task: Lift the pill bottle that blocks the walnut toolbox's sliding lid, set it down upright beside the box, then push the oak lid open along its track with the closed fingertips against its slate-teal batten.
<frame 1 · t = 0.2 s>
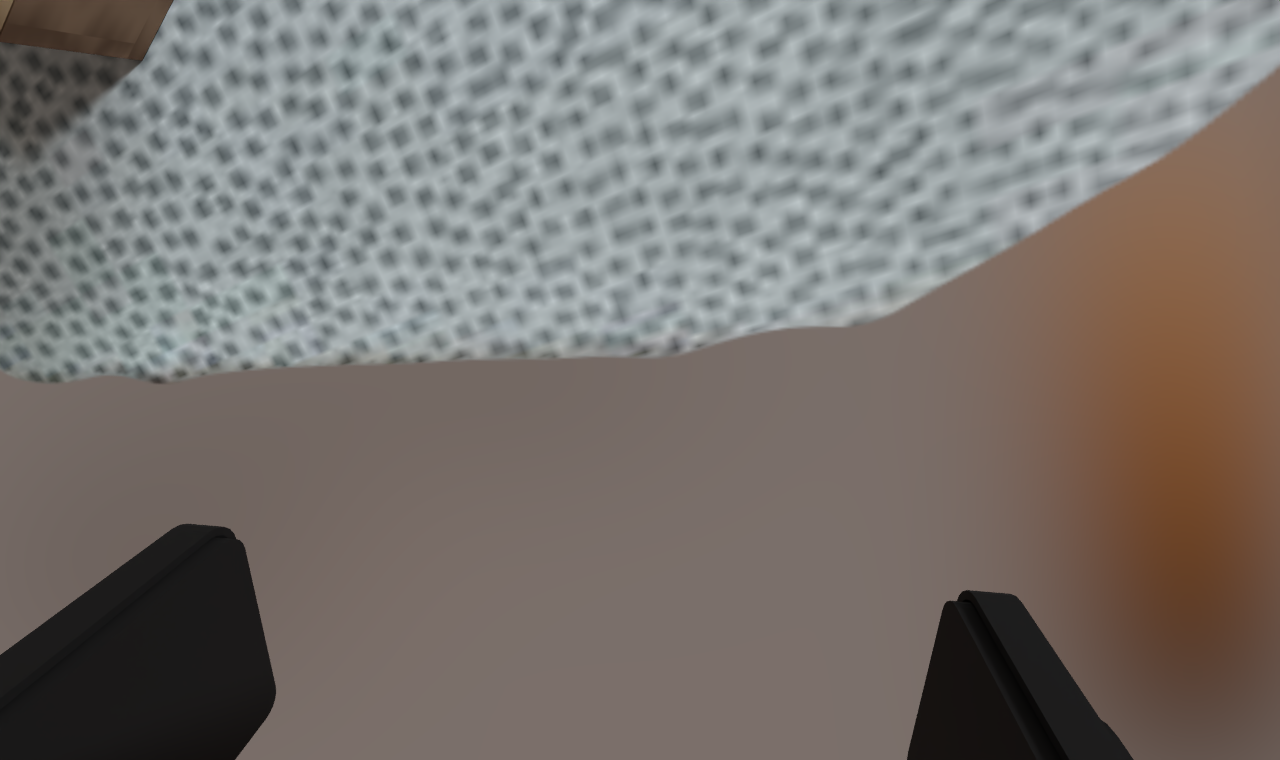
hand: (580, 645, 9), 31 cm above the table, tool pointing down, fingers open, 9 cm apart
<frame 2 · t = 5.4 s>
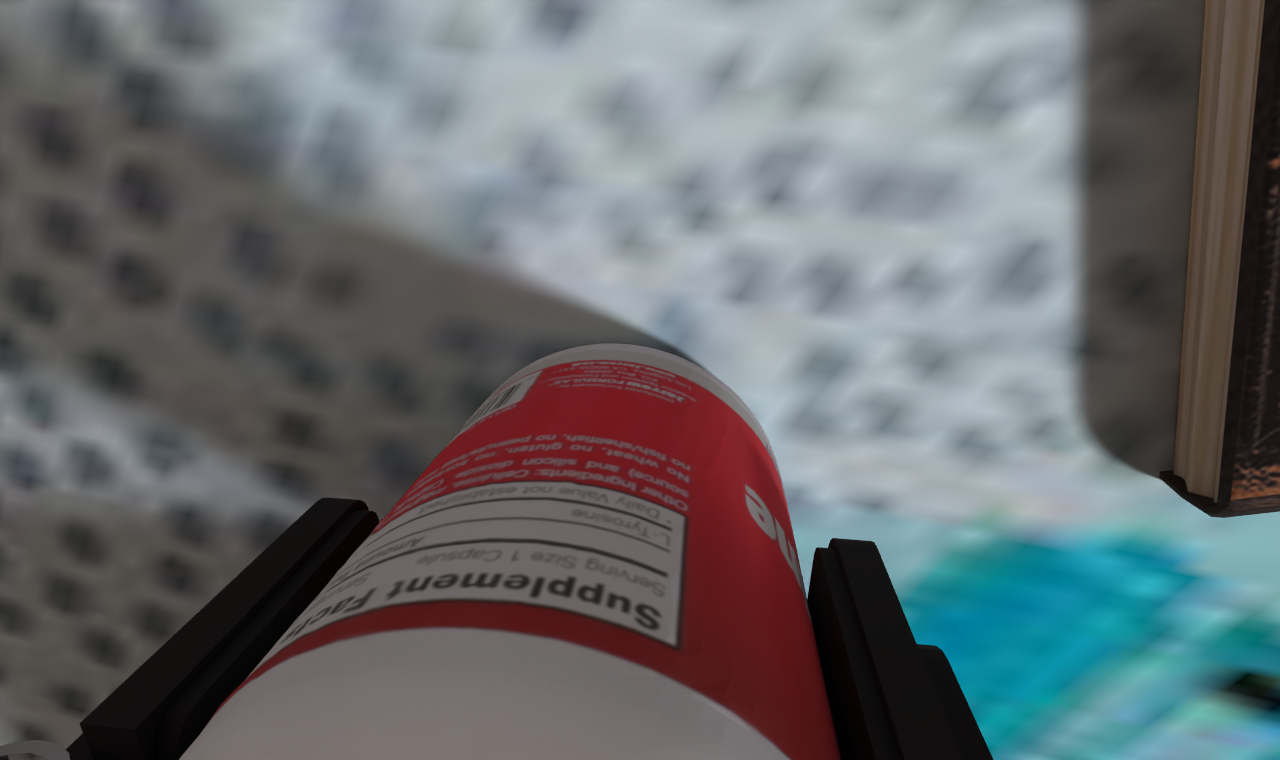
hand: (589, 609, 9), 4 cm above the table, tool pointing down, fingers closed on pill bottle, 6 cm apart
pill bottle: (622, 478, 13), on the table, touching gripper
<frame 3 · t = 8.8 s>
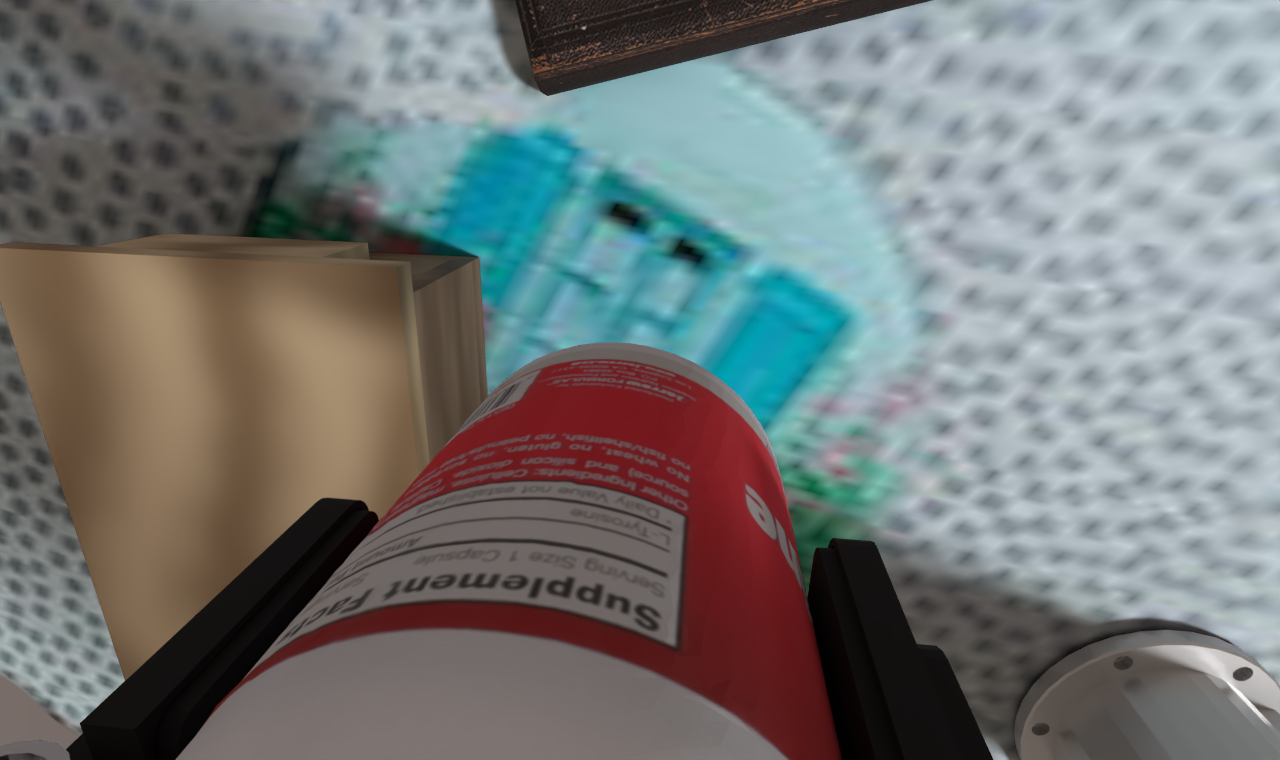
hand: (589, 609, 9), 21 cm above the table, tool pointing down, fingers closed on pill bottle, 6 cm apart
pill bottle: (621, 478, 13), point 17 cm above the table, touching gripper
toolbox lid: (264, 550, 26), point 8 cm above the table, slide at 0.0 cm
toolbox: (368, 464, 33), on the table
when the fingers open (5 cm above the table, at t = 12.1 s): pill bottle drops 1 cm, on the table.
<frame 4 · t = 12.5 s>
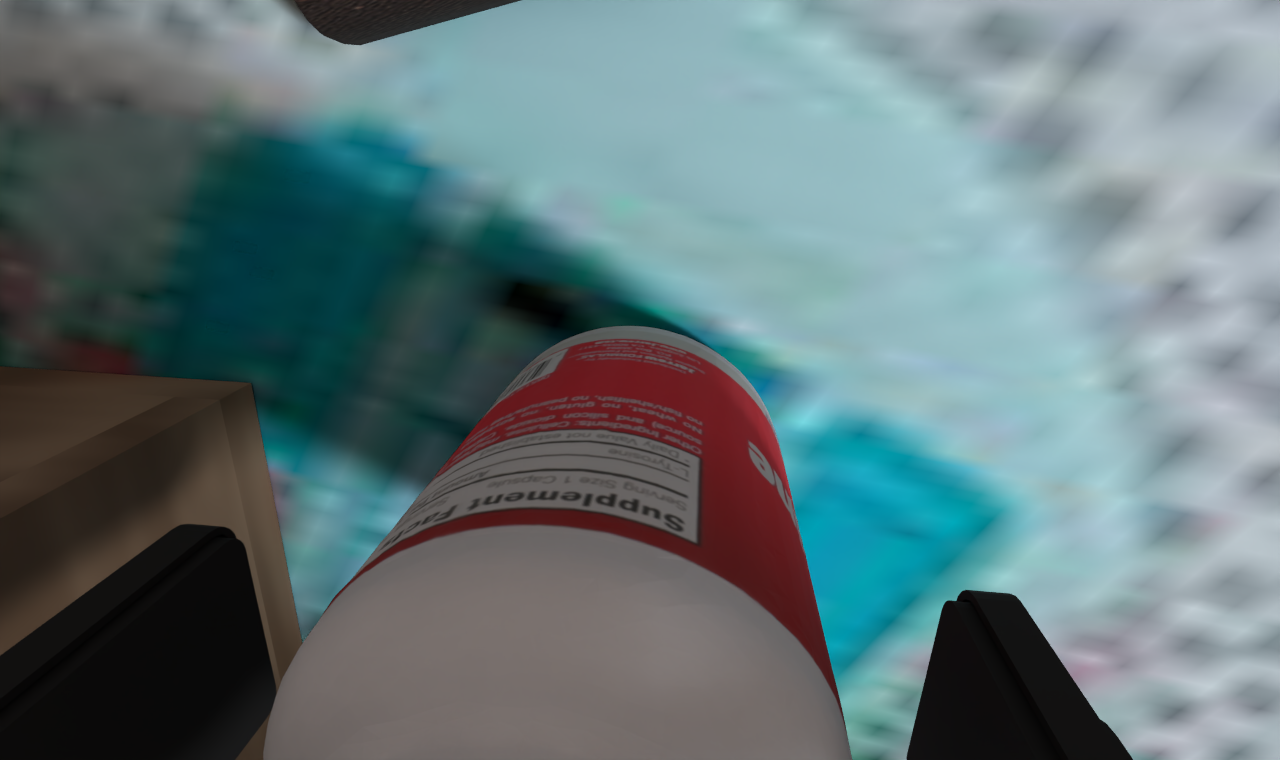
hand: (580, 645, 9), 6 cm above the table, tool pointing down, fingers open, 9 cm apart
pill bottle: (636, 449, 14), on the table
toolbox: (108, 721, 19), on the table
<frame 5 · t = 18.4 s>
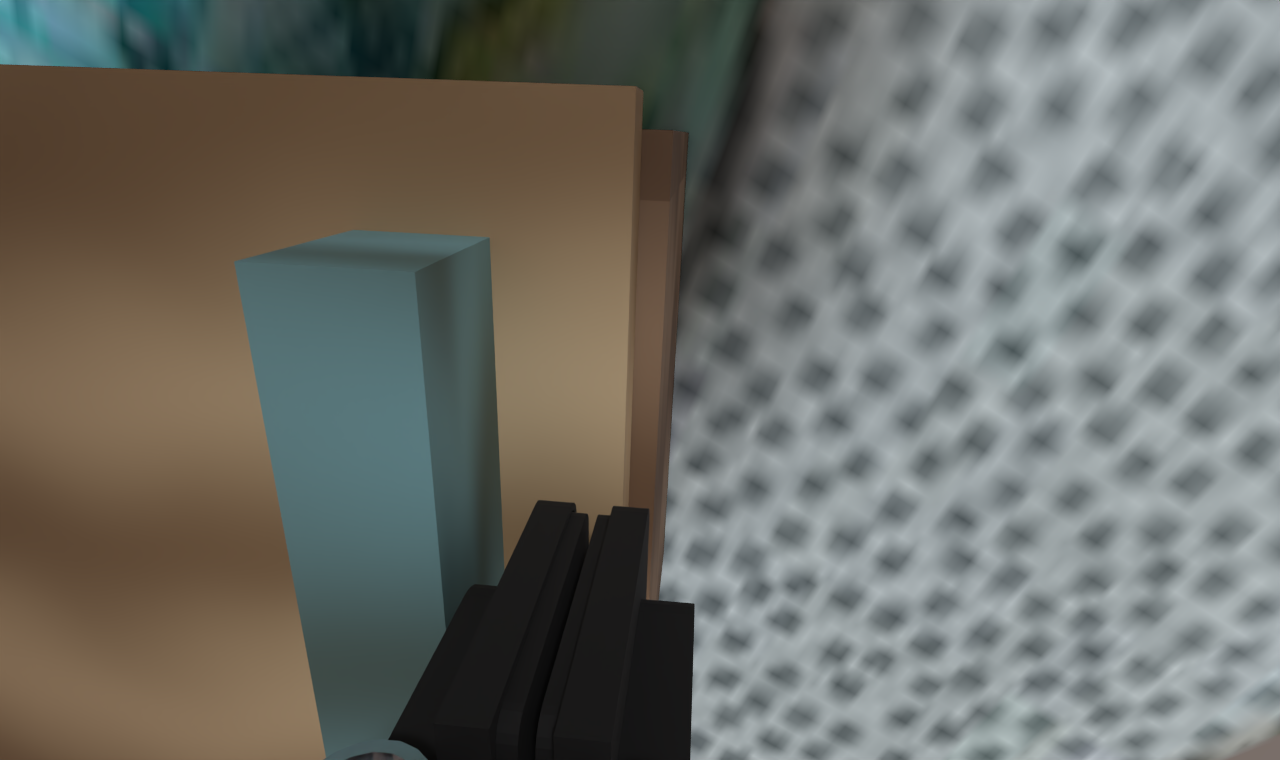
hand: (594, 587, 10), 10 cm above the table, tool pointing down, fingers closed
toolbox lid: (21, 469, 12), point 8 cm above the table, slide at 0.5 cm, touching gripper
toolbox: (319, 343, 20), on the table
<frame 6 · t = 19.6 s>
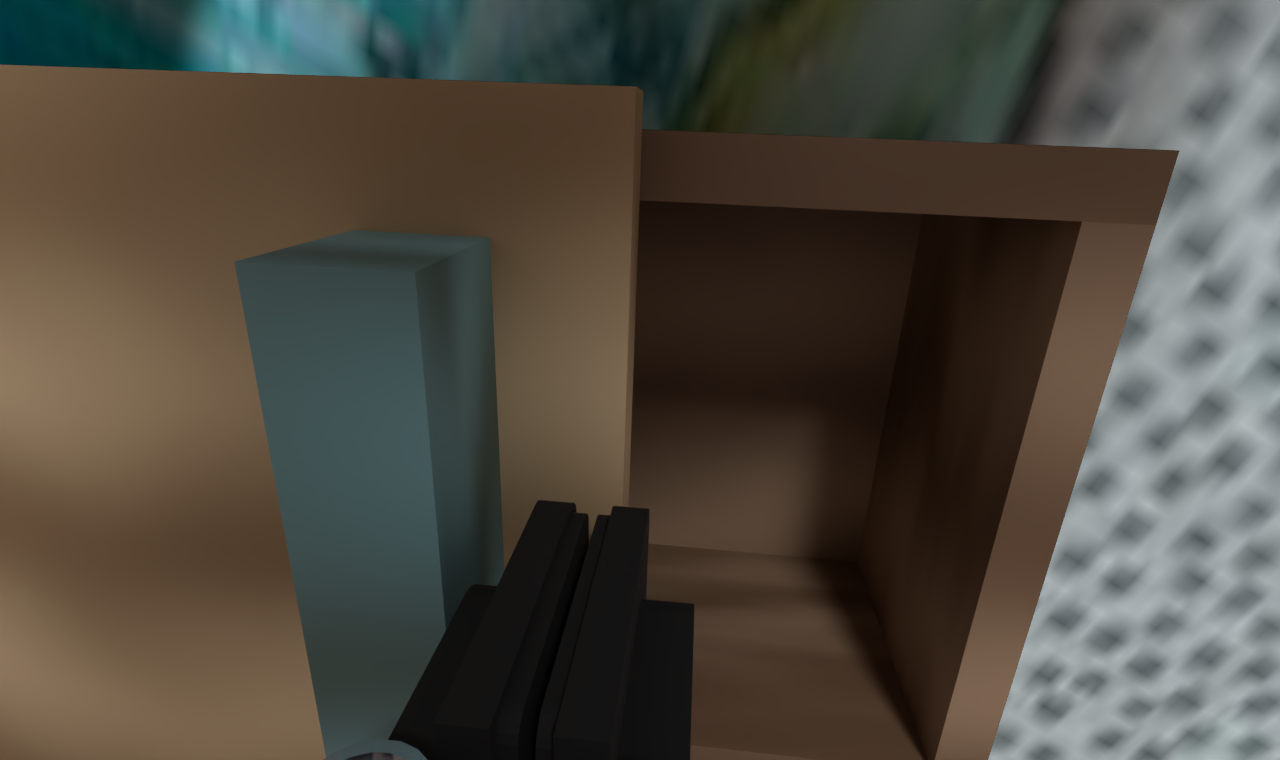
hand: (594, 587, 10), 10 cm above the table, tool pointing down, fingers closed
toolbox lid: (21, 469, 12), point 8 cm above the table, slide at 7.4 cm, touching gripper
toolbox: (539, 358, 20), on the table
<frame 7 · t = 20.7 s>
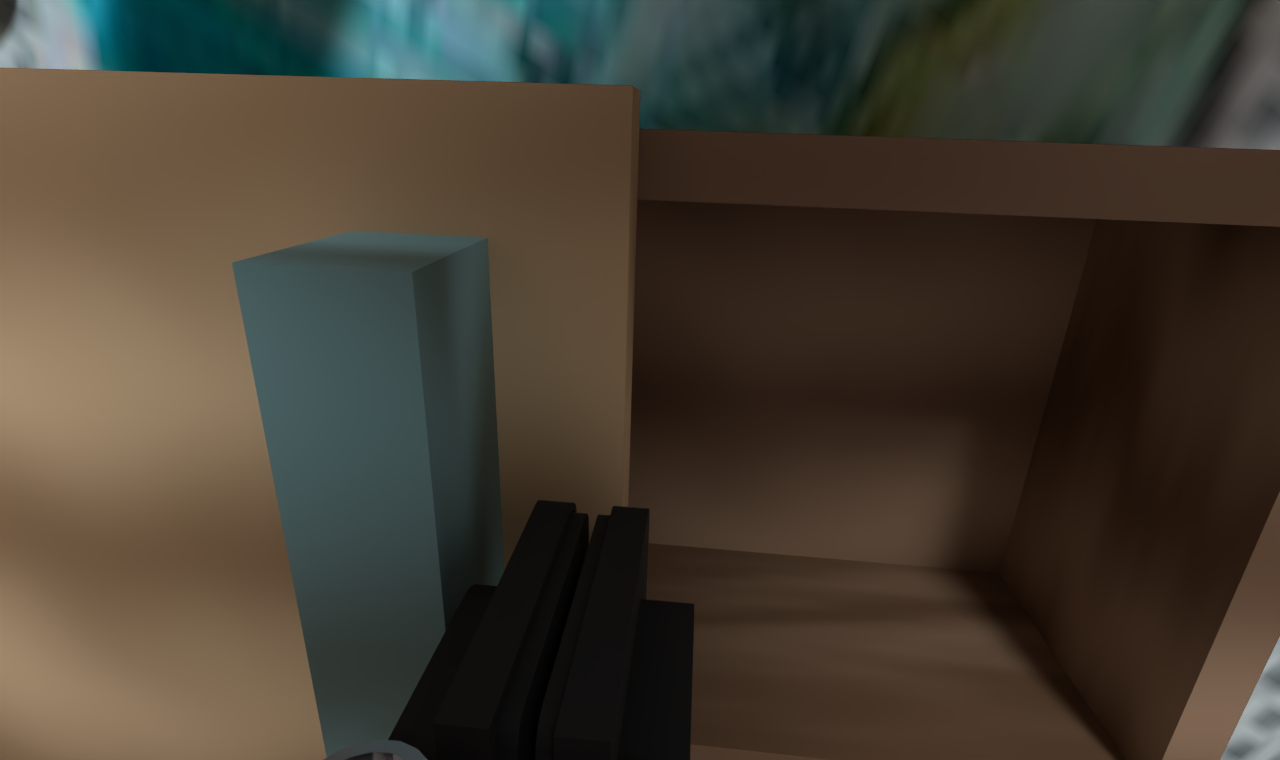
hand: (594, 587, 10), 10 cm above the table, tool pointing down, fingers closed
toolbox lid: (22, 472, 12), point 8 cm above the table, slide at 11.5 cm, touching gripper
toolbox: (676, 367, 19), on the table
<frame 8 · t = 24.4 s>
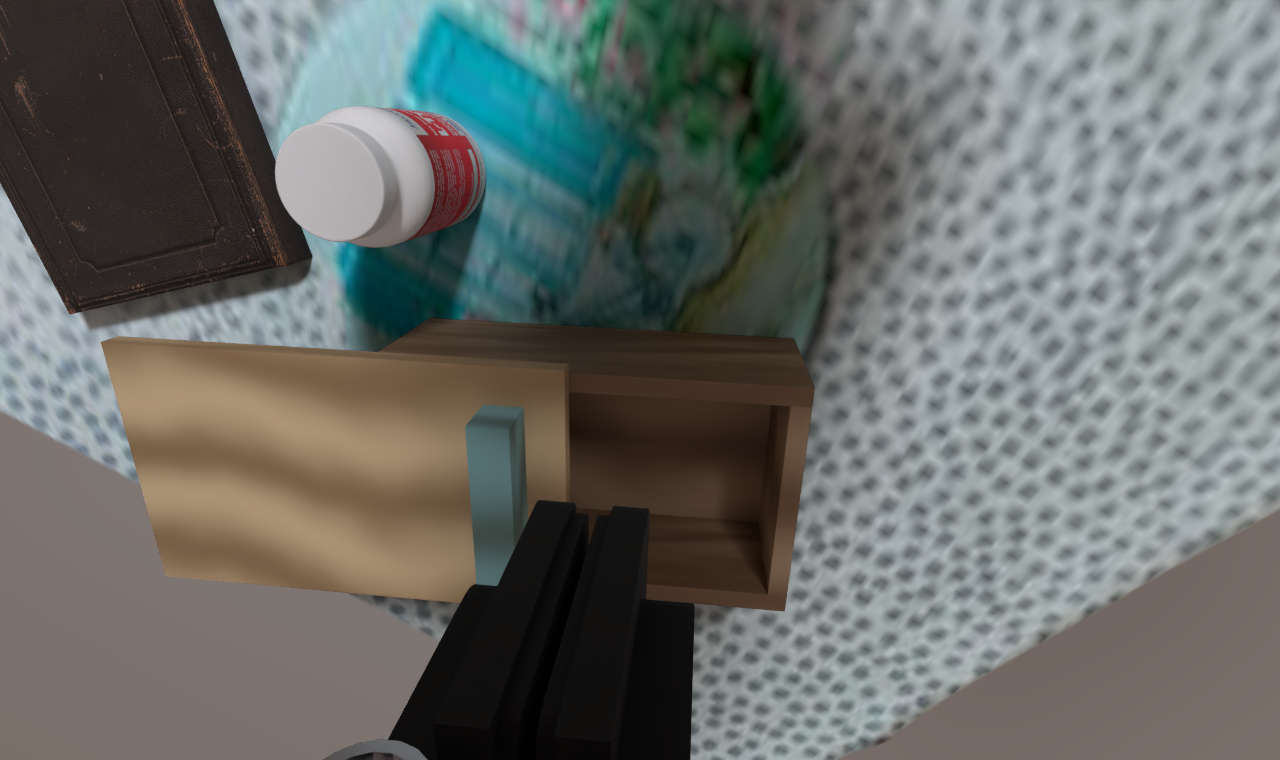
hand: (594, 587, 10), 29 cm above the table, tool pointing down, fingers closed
pill bottle: (436, 170, 37), on the table
toolbox lid: (352, 476, 34), point 8 cm above the table, slide at 11.7 cm
toolbox: (606, 426, 41), on the table
hardcover book: (122, 87, 37), on the table
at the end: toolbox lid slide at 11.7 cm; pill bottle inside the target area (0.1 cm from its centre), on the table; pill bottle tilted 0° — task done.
